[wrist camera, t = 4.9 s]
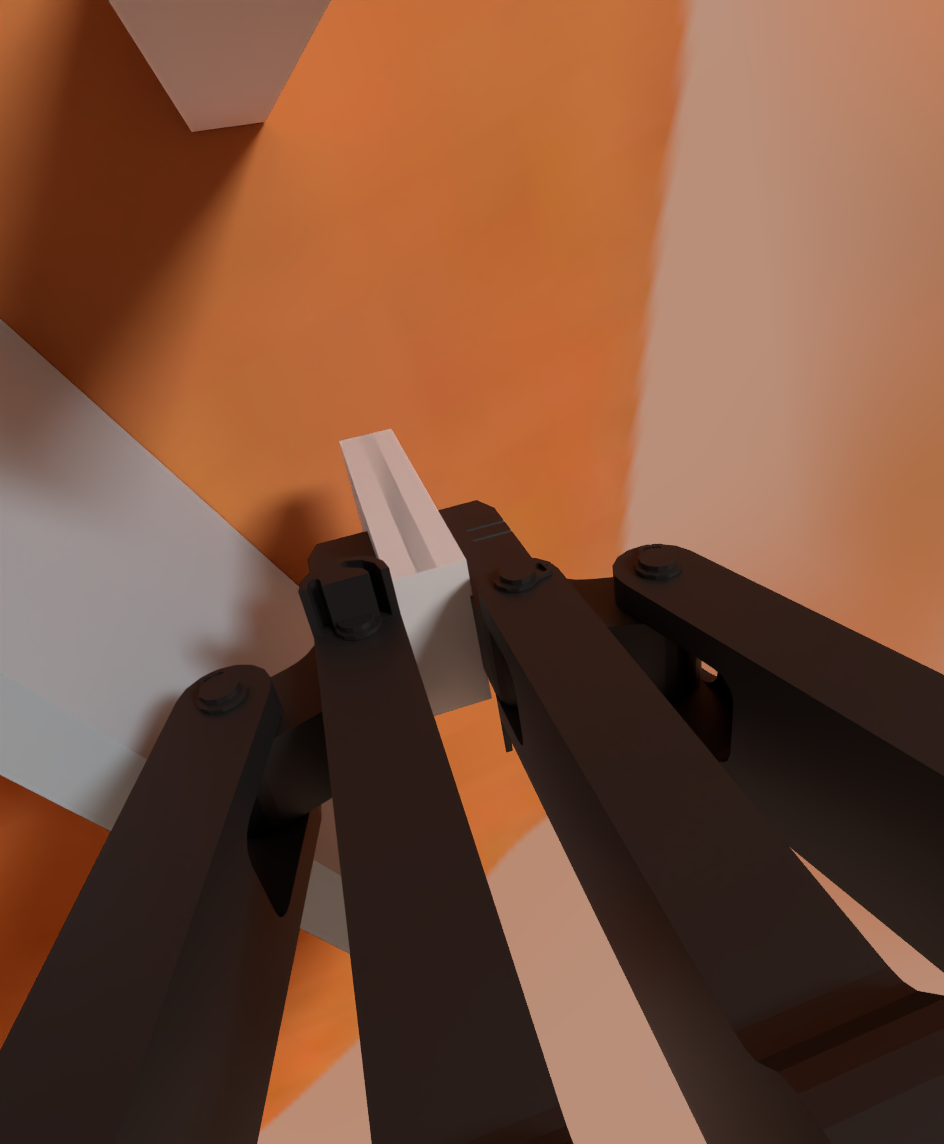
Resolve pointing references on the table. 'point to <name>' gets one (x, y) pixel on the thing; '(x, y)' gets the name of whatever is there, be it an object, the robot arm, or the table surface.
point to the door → (121, 607)
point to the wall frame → (221, 52)
